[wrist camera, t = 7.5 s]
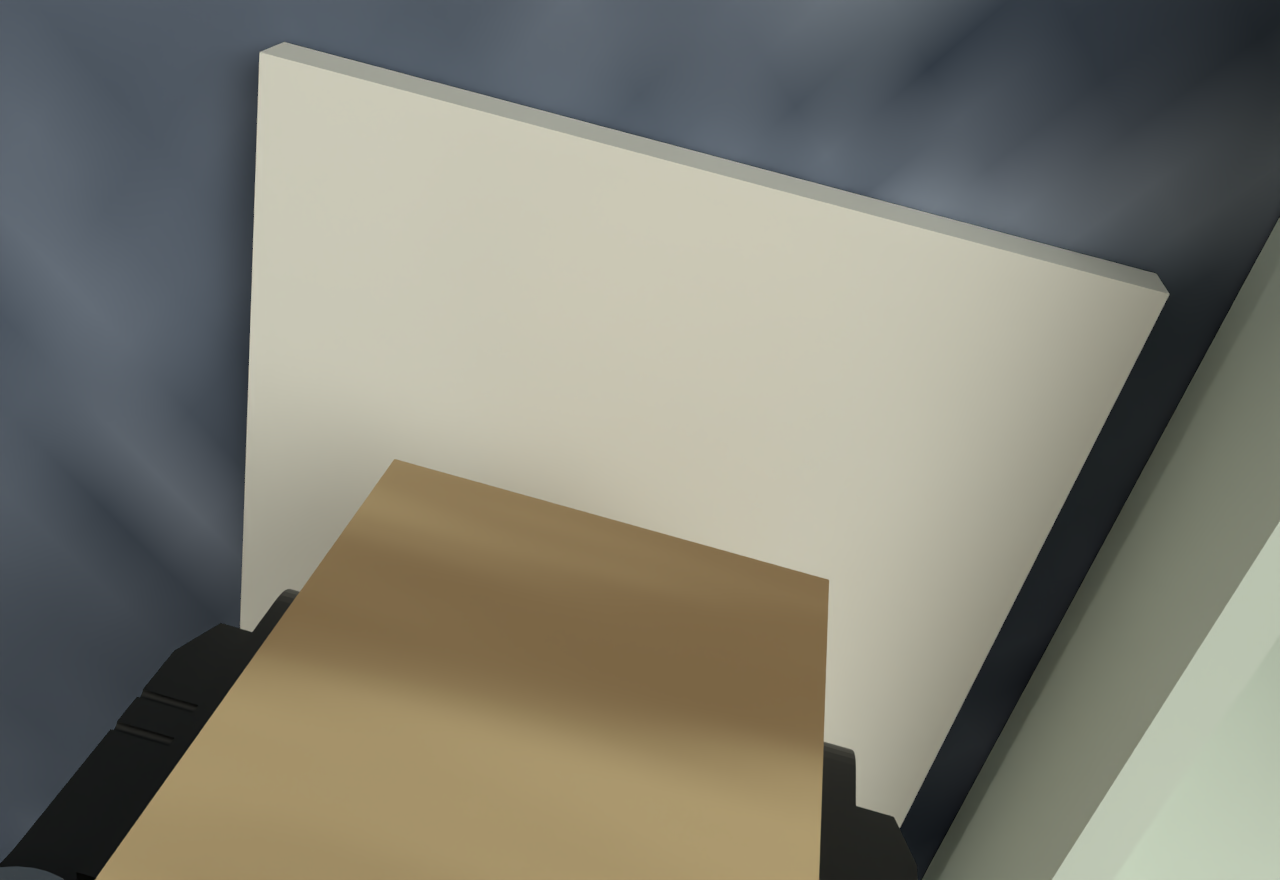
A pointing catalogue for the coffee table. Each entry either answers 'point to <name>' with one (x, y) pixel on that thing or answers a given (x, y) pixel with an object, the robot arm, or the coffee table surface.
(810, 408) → the ceramic tile
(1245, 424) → the parts tray
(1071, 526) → the coffee table surface
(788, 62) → the coffee table surface
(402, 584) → the oak box
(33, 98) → the coffee table surface
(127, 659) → the coffee table surface
